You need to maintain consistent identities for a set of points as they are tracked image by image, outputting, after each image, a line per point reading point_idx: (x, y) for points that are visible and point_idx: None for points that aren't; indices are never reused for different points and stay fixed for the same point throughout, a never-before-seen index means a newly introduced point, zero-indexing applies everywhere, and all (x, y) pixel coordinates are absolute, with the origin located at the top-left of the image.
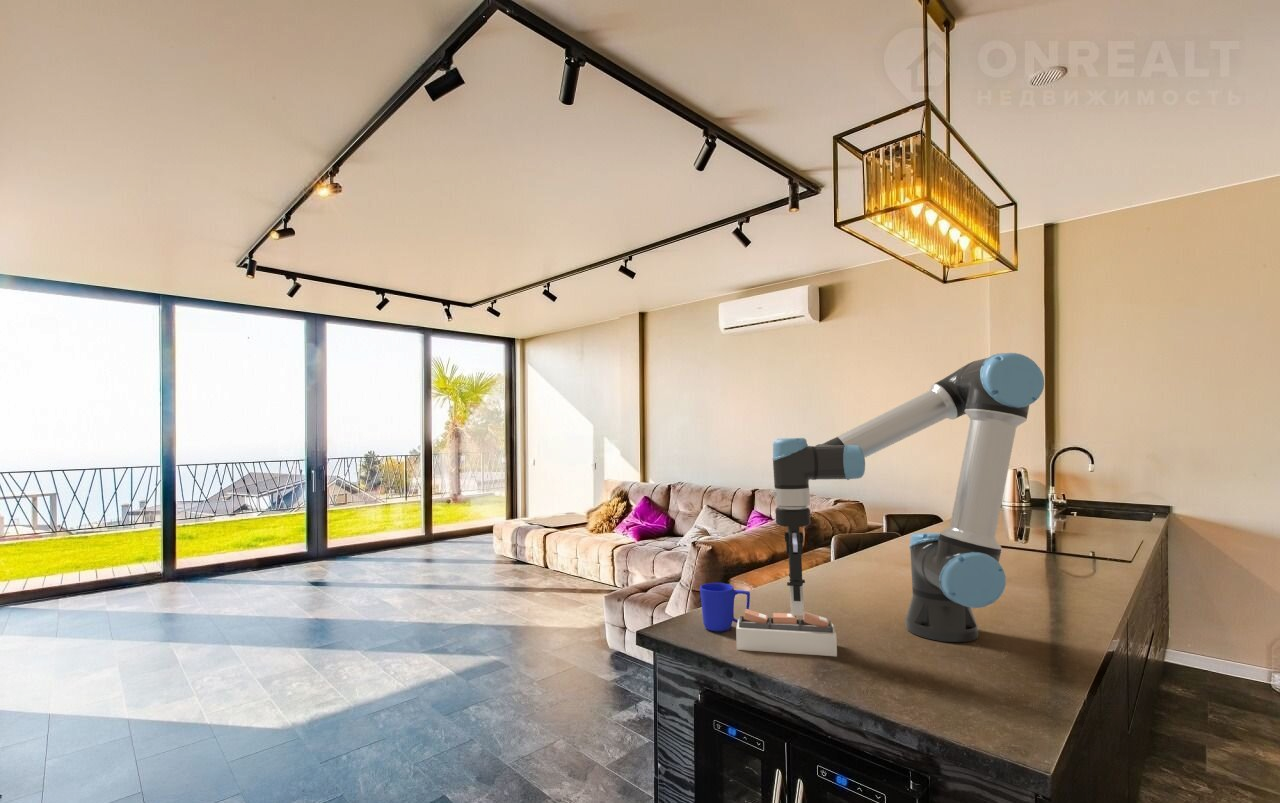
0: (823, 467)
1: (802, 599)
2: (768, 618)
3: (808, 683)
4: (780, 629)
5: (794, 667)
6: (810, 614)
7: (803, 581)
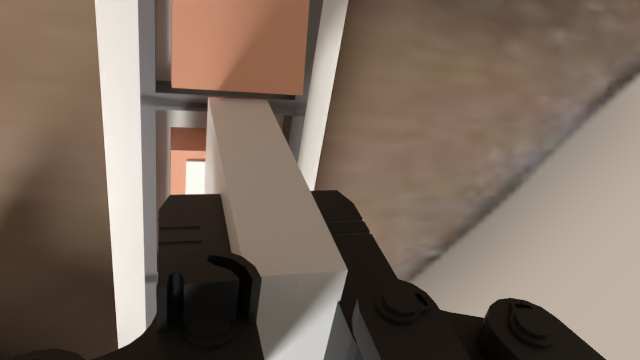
0: None
1: (299, 175)
2: (156, 282)
3: (583, 70)
4: None
5: (445, 105)
6: (214, 38)
7: (255, 289)
